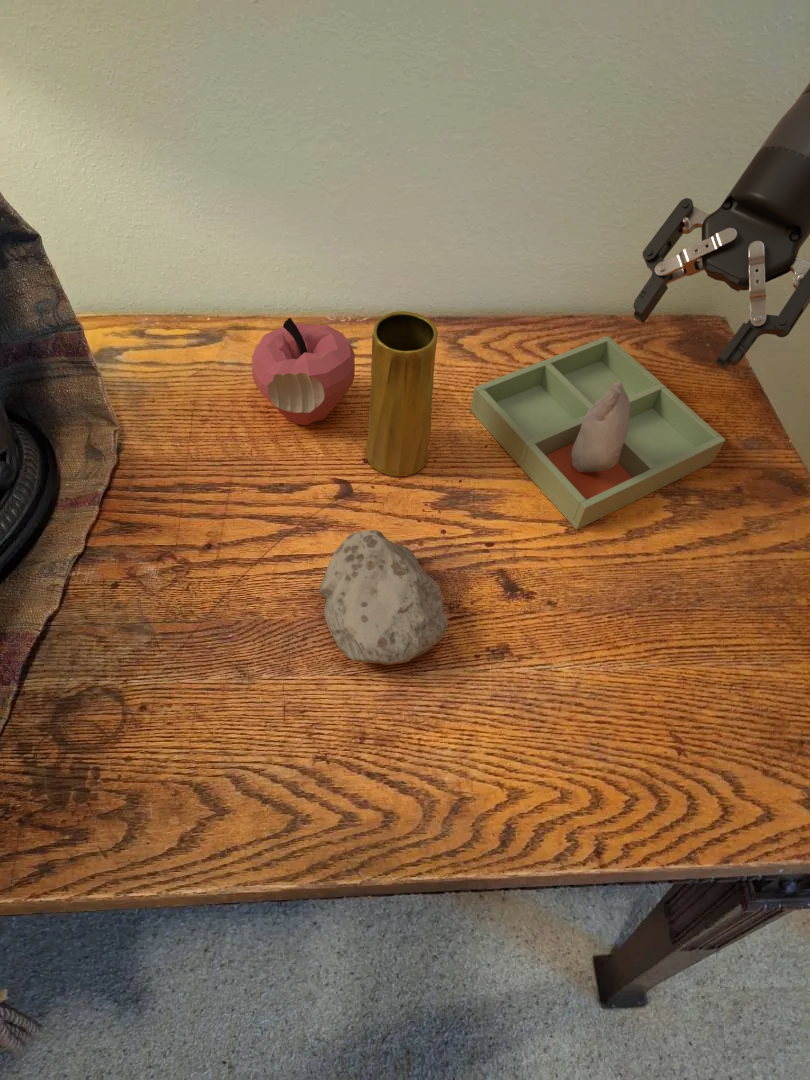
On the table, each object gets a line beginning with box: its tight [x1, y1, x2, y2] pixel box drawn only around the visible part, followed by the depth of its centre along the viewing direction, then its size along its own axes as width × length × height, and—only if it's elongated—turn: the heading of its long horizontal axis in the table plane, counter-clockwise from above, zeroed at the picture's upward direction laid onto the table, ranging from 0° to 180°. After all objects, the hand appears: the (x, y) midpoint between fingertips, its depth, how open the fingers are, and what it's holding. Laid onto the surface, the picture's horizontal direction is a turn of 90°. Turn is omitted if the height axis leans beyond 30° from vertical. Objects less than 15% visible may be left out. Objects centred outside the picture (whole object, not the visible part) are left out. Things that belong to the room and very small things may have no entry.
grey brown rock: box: [571, 381, 630, 472], centre depth 64 cm, size 6×4×10 cm, turn 0°
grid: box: [470, 335, 726, 531], centre depth 71 cm, size 17×17×3 cm
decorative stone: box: [319, 529, 449, 665], centre depth 57 cm, size 12×11×5 cm
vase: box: [364, 310, 439, 478], centre depth 63 cm, size 6×6×14 cm
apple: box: [251, 317, 356, 426], centre depth 68 cm, size 10×9×10 cm
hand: (678, 341), depth 65 cm, fingers open, 8 cm apart
